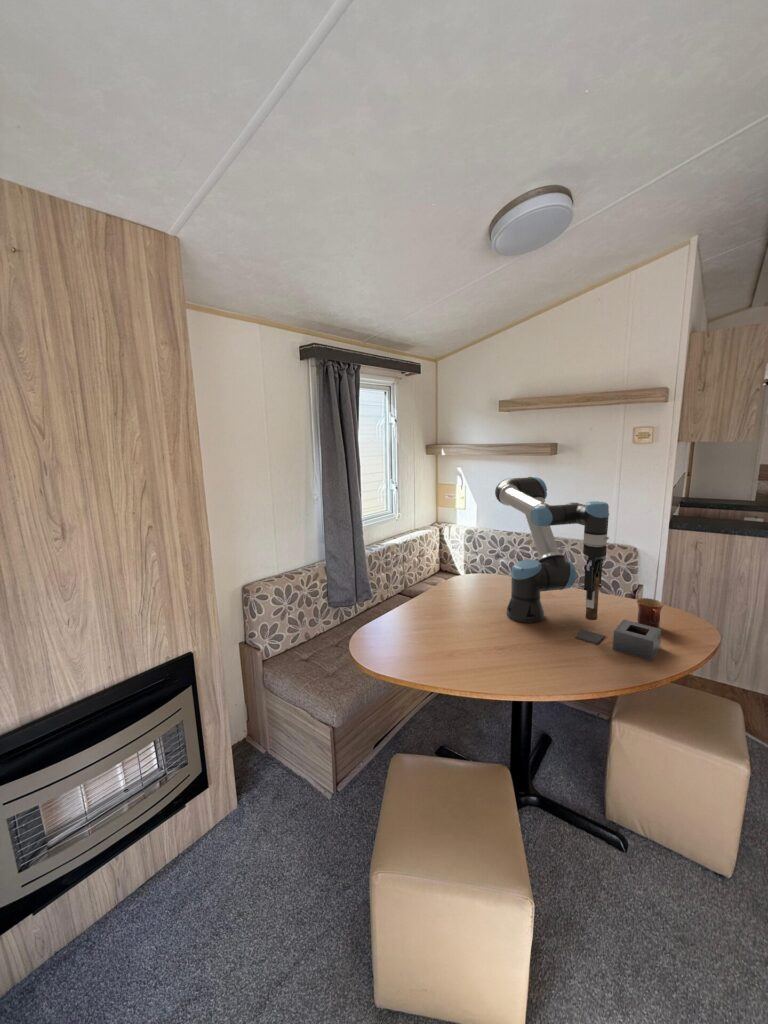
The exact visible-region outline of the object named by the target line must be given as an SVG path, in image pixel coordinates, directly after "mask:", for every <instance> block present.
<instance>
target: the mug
mask: <svg viewBox="0 0 768 1024" xmlns="http://www.w3.org/2000/svg"><path fill="white" fill-rule="evenodd" d="M636 603H637V607H638V611H637V618H636V620H637V623H639V624H643V625H647V626H651V627H655V628H659V627H660V624H661V613H662V609H663V607H664V603H663V602H662V601H660V600H657V599H654V598H647V597H646V598H645V597H642V598H638V599H636ZM659 629H660V628H659Z"/></svg>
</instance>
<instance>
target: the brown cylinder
mask: <svg viewBox="0 0 768 1024" xmlns="http://www.w3.org/2000/svg"><path fill="white" fill-rule="evenodd" d="M594 591H595V599H594V608H589V607H586V606H585V619H586V620H589V621H597V620H598V607H599V595H598V592H599V591H600V587H599V577H597V576H595V585H594Z"/></svg>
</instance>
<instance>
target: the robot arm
mask: <svg viewBox="0 0 768 1024" xmlns="http://www.w3.org/2000/svg"><path fill="white" fill-rule="evenodd" d="M494 494H495V495H494V496H495V498H496V500H497V501H498V502H499V503H500V504H502V505H504V506H508V507H509V506H510V507H512V508H514V509H516V510H517V511H519V512H521V513H523V514H524V515H525V518H526V521H527V525H528V527H529V530H530V534H531V537H532V540H533V542H534V543H533V544H534V545H535V549H536V553H537V555H538V559H537V560H535V559H531V560H529V559H524V560H523V559H522V560H519V561H517V562H515V563H514V564H513V565H512V567H511V574H510V575H511V585H510V586H511V590H510V592H511V596H510V599H509V602H508V604H507V607H506V616H507V617H508V618H510V619H511V620H513V621H516V622H519V623H526V624H527V623H528V624H534V623H539V622H541V621H544V618H545V611H544V608H543V604H542V602H541V601H542V600H541V592H549V591H563V590H566V589H570V588H571V587H573V586H574V584H575V582H576V579H577V571H576V567H575V565H574V563H573V562H572V561H569V560H566V557H565V555H564V554H562V553H561V552H560V551H559V548H558V546H557V542H556V539H555V536H554V534H553V533H554V532H553V530H552V528H551V527H552V526H561V525H562V526H563V525H575V524H577V525H581V526H584V529H583V531H584V532H583V543H584V544H583V548H582V553H583V555H585V556H587V557H588V558H587V559H586V564H584V566H583V567H584V583H583V584H584V585H583V586H584V587H583V591H586V592H585V608H586V607H589V608H594V599H595V591H594V585H595V576H597V577H599V588H602V586H603V585H602V575H603V564H604V563H603V562H604V558H605V556H606V555H607V549H608V548H607V544H608V543H607V542H608V540H609V539H610V538H609V536H608V531H609V530H608V529H609V516H610V512H609V511H610V510H609V508H610V507H609V504H608V503H607V502H605V501H596V500H594V501H592V500H591V501H587V502H586V503H585V504H583V503H579V502H568V503H566V504H556V505H553V504H552V505H550V504H547V503H545V502H546V499H547V496H548V488H547V484H546V483H545V481H544V480H543V479H541V477H537V476H534V477H533V476H528V477H527V476H526V477H511V478H510V477H509V478H505V479H503V480H501V481H500V482H499V483H498V484H497V486H496V487H495V490H494ZM603 557H604V558H603ZM599 594H600V593H599V592H598V596H599Z"/></svg>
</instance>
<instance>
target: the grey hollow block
mask: <svg viewBox="0 0 768 1024" xmlns="http://www.w3.org/2000/svg"><path fill="white" fill-rule="evenodd" d="M661 638H662V628H655V627H651V626H647V625H643V624H639V623H638V622H635V621H632V620H631V621H630V620H627V619H622V621H621V622H620V623H619V624H618V626H617V627H616V628H615V629H614V630H613V639H612V650H614V651H616V652H617V651H618V652H620V653H624V654H627V655H630V656H634V657H637V658H640V659H644V660H647V661H651V662H652V661H653V660H654V658H655V657H656V655H657V653H658V651H659V649H660V648H661Z"/></svg>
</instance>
